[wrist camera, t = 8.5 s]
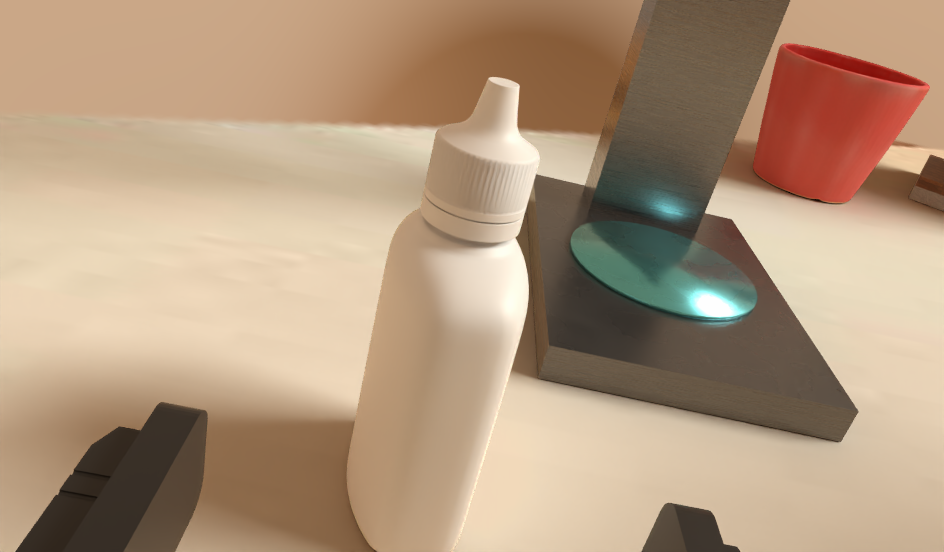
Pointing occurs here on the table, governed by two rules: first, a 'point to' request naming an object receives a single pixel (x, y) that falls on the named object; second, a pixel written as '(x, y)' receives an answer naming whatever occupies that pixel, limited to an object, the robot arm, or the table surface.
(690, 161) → the arbor press
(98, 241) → the table surface
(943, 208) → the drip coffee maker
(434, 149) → the eye dropper bottle
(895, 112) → the flower pot
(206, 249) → the table surface
